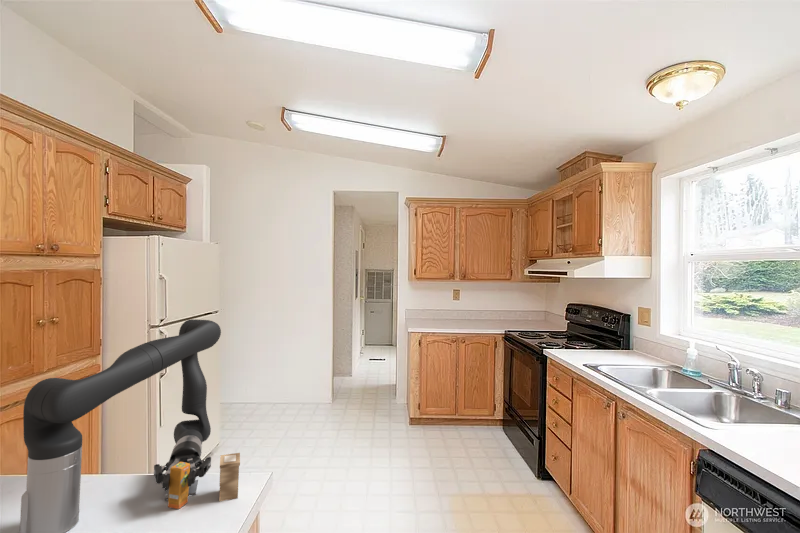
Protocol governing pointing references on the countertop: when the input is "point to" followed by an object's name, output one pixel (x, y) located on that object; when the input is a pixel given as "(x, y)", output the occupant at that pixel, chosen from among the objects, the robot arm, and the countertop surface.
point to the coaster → (191, 491)
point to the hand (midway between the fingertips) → (178, 484)
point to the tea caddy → (229, 476)
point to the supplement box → (178, 485)
